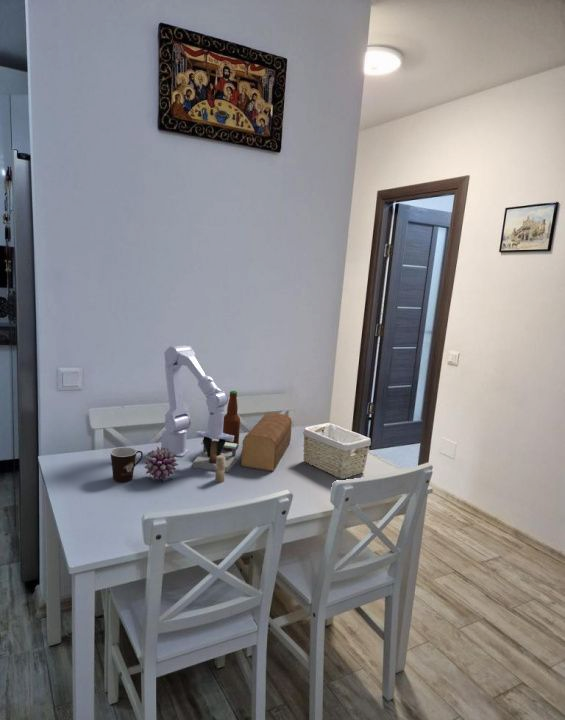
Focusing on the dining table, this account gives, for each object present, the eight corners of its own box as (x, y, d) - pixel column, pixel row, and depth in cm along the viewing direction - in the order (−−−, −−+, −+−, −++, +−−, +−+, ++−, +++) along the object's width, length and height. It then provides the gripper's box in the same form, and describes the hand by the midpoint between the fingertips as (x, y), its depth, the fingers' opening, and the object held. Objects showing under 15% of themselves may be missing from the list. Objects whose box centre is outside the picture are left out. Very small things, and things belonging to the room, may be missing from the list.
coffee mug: (111, 485, 163) (112, 457, 161) (108, 475, 171) (108, 448, 169) (146, 481, 169) (147, 454, 167) (141, 471, 176) (142, 445, 174)
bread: (290, 444, 218) (293, 414, 216) (274, 473, 185) (277, 437, 183) (261, 439, 221) (263, 409, 218) (239, 467, 188) (241, 432, 186)
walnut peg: (208, 464, 185) (209, 442, 184) (210, 461, 188) (212, 439, 187) (216, 466, 185) (217, 443, 183) (218, 463, 188) (219, 441, 186)
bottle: (237, 445, 211) (241, 389, 207) (238, 451, 204) (242, 394, 200) (221, 444, 210) (224, 388, 206) (221, 450, 203) (225, 393, 199)
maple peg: (214, 481, 173) (215, 458, 171) (216, 478, 176) (218, 454, 174) (222, 483, 172) (224, 459, 171) (225, 479, 176) (226, 456, 174)
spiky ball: (175, 487, 166) (176, 454, 164) (139, 485, 165) (140, 452, 163) (179, 473, 177) (181, 442, 175) (146, 471, 176) (147, 441, 174)
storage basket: (298, 460, 199) (301, 426, 197) (325, 453, 210) (329, 421, 208) (341, 482, 182) (345, 445, 179) (368, 473, 193) (373, 438, 190)
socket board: (192, 467, 184) (193, 450, 183) (203, 455, 196) (204, 439, 195) (228, 472, 182) (229, 455, 181) (236, 459, 195) (237, 443, 193)
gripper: (194, 423, 181) (192, 457, 183) (231, 428, 179) (229, 462, 181) (200, 418, 188) (198, 451, 190) (236, 423, 186) (234, 456, 188)
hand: (213, 456), depth 186 cm, fingers closed on walnut peg, 3 cm apart
